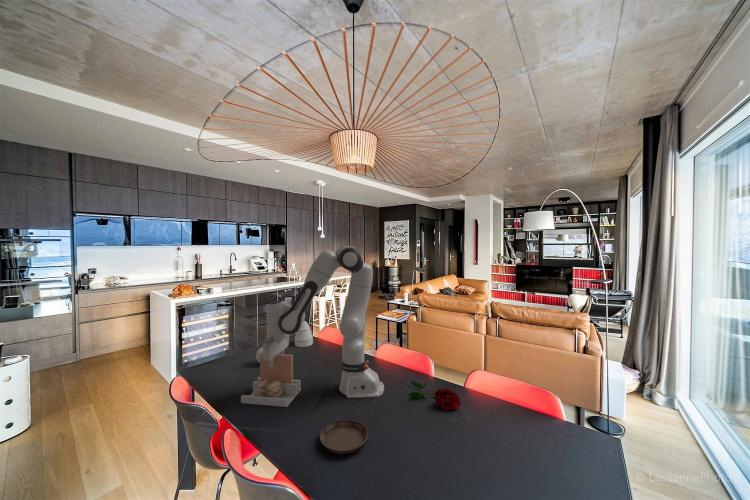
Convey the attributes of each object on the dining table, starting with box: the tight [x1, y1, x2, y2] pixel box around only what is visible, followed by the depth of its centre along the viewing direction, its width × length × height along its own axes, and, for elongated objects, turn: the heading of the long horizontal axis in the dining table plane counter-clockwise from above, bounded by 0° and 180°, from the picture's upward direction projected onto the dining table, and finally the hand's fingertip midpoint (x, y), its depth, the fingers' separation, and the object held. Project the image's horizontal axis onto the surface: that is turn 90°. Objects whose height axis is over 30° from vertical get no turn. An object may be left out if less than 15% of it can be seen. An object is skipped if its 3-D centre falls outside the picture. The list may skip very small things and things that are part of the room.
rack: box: [240, 376, 302, 408], centre depth 136 cm, size 22×16×6 cm
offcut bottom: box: [255, 391, 285, 398], centre depth 133 cm, size 12×6×2 cm, turn 82°
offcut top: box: [258, 380, 281, 392], centre depth 133 cm, size 8×6×2 cm
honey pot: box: [294, 320, 314, 348], centre depth 209 cm, size 13×13×18 cm
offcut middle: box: [256, 386, 283, 398], centre depth 133 cm, size 10×6×2 cm, turn 82°
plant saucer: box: [319, 419, 369, 455], centre depth 106 cm, size 18×18×3 cm
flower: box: [399, 379, 462, 411], centre depth 133 cm, size 9×9×30 cm
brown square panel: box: [259, 353, 294, 384], centre depth 139 cm, size 16×2×18 cm, turn 82°
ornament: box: [255, 343, 265, 364], centre depth 175 cm, size 10×10×12 cm
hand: (276, 362), depth 139 cm, fingers open, 8 cm apart
